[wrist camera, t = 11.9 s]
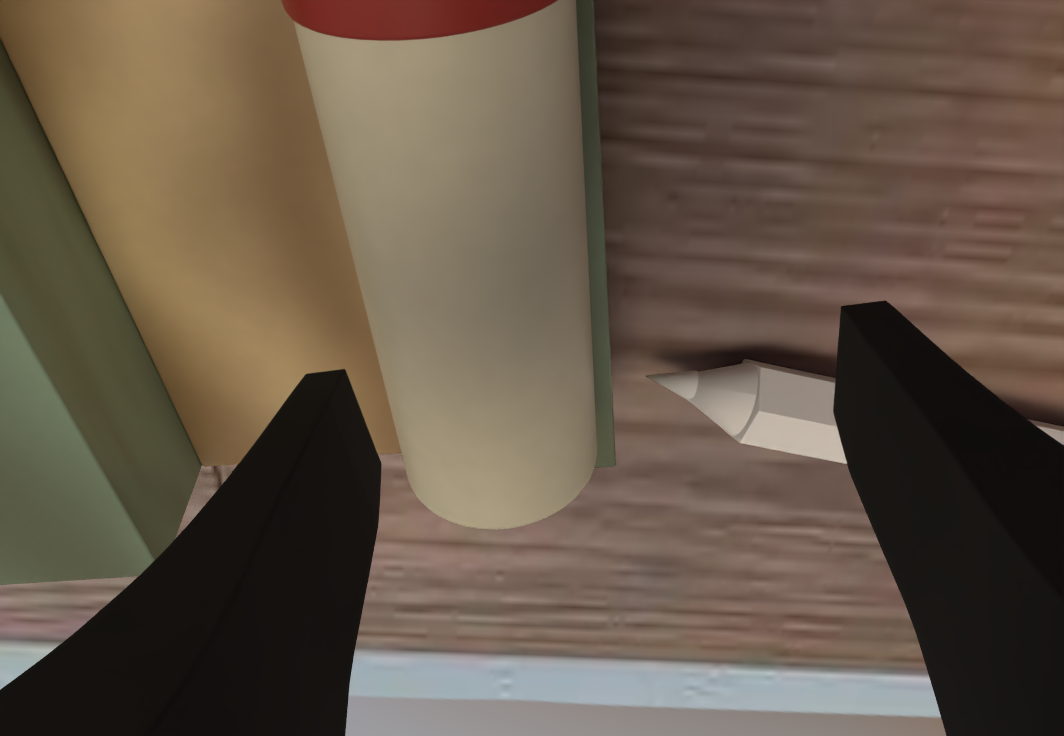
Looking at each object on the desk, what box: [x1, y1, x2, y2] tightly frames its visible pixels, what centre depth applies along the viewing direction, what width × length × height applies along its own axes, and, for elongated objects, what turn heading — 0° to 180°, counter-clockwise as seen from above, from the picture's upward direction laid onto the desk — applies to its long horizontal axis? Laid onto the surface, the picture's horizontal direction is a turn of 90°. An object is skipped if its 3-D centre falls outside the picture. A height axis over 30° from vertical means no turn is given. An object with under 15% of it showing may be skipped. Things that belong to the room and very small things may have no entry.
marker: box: [646, 359, 1064, 464], centre depth 26 cm, size 3×2×16 cm
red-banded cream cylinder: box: [281, 0, 597, 529], centre depth 16 cm, size 15×5×5 cm
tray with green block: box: [0, 0, 616, 585], centre depth 18 cm, size 16×19×6 cm
